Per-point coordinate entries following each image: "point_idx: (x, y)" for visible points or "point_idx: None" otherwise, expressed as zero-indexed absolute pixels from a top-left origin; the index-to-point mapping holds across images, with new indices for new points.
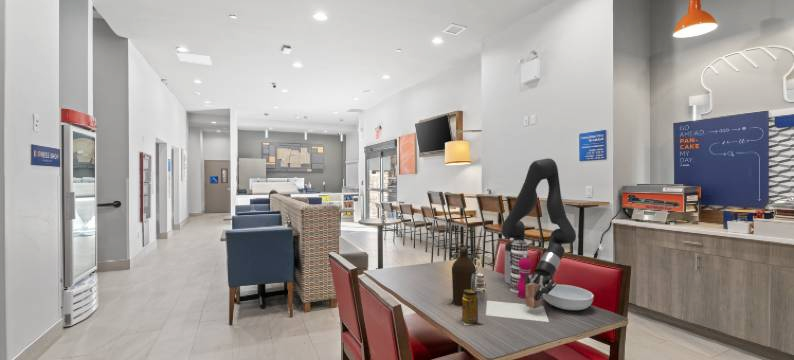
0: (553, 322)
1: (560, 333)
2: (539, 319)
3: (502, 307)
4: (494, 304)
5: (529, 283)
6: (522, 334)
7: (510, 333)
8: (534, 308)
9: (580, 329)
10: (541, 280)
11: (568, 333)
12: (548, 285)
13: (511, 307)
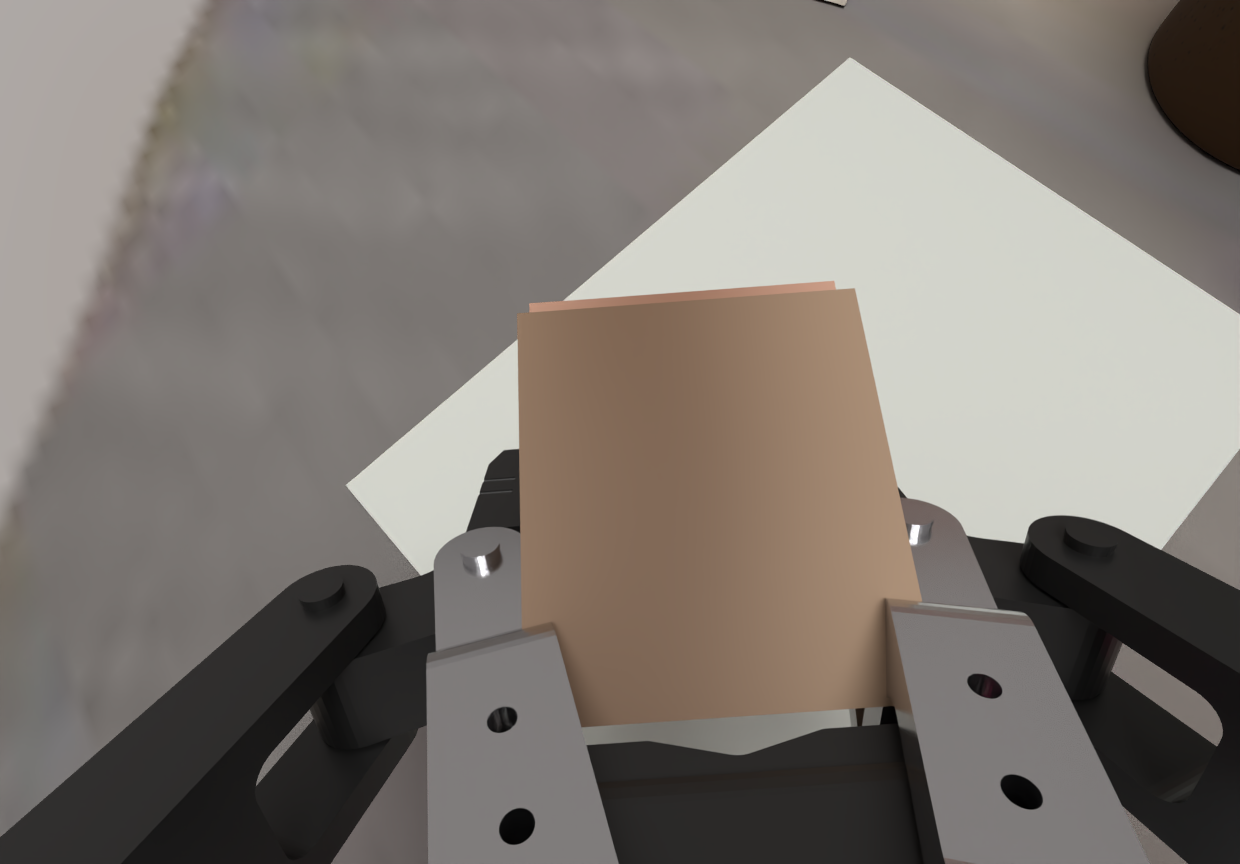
0: (328, 554)
1: (138, 361)
2: (462, 446)
3: (987, 353)
4: (1126, 342)
5: (876, 461)
6: (367, 70)
7: (441, 11)
8: (771, 741)
9: (5, 663)
10: (500, 854)
11: (76, 433)
12: (130, 781)
13: (944, 458)
